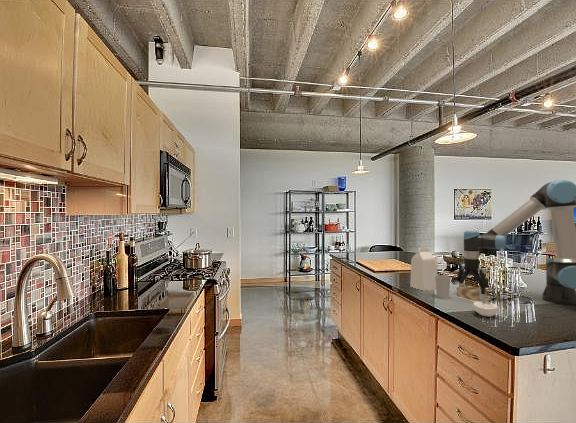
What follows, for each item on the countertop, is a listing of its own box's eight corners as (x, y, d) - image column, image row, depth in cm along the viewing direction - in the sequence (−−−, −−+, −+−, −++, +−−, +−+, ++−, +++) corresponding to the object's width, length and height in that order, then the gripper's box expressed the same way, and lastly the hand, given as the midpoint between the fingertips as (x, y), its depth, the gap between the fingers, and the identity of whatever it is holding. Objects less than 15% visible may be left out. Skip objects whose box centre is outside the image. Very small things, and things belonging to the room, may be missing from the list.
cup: (452, 299, 171) (452, 278, 171) (437, 299, 172) (437, 277, 172) (448, 296, 179) (448, 275, 179) (433, 295, 180) (433, 274, 180)
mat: (492, 300, 170) (492, 299, 170) (474, 302, 165) (474, 302, 165) (469, 293, 183) (469, 293, 183) (452, 296, 178) (452, 295, 178)
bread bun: (487, 298, 171) (487, 289, 171) (473, 300, 167) (473, 291, 167) (470, 294, 181) (470, 285, 181) (456, 296, 177) (456, 287, 177)
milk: (423, 291, 190) (422, 249, 190) (410, 286, 201) (409, 247, 201) (438, 289, 194) (438, 248, 194) (425, 285, 205) (424, 246, 205)
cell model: (470, 316, 144) (470, 301, 144) (476, 310, 153) (476, 296, 153) (496, 321, 137) (496, 306, 137) (500, 314, 146) (500, 300, 146)
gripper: (449, 255, 184) (449, 292, 184) (486, 261, 162) (487, 303, 162) (458, 255, 186) (458, 291, 186) (496, 260, 164) (496, 301, 164)
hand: (471, 297), depth 174 cm, fingers closed on mat, 11 cm apart
